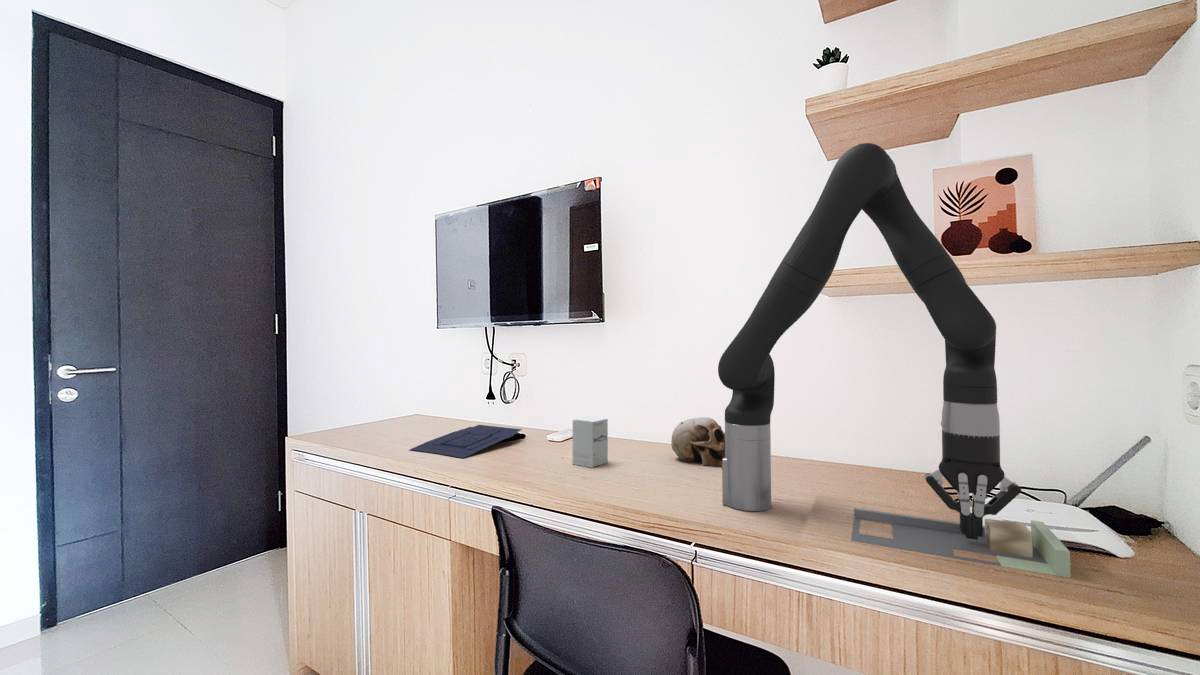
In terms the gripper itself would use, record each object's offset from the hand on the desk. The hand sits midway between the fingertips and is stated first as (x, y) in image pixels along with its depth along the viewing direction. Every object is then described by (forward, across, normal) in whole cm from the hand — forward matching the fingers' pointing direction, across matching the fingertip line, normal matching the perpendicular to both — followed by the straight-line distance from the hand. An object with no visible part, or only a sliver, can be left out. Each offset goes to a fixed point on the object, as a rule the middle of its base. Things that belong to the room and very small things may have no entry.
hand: (971, 537), depth 81 cm
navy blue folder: (+3, -132, +25) cm, 134 cm away
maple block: (+1, +5, 0) cm, 5 cm away
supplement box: (+2, -84, +22) cm, 87 cm away
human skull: (+3, -56, +40) cm, 69 cm away
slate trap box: (+2, -4, -1) cm, 4 cm away
